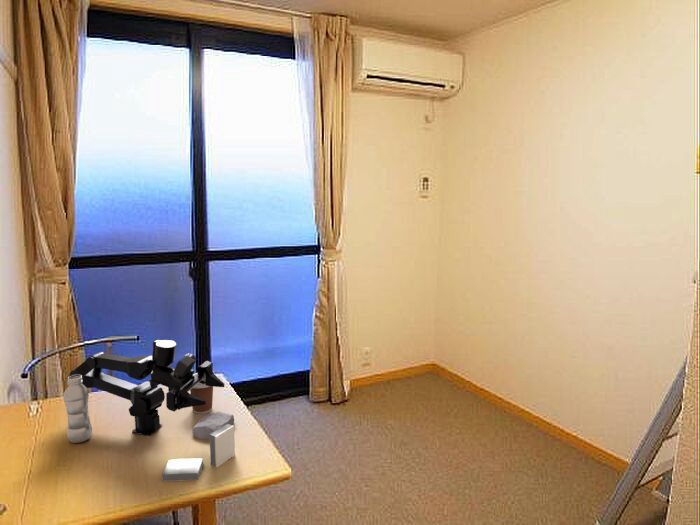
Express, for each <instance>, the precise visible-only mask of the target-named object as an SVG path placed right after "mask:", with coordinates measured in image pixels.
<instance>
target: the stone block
mask: <svg viewBox="0 0 700 525" xmlns="http://www.w3.org/2000/svg"><path fill="white" fill-rule="evenodd" d="M234 422H235V416H234V414H230V413H227V412H223V411H221V412H220V411H216V412H211V413H208V414H207V413H206V415H205V416H203V417H202V418H201V419H200V420H199V421H198V422H197V423H196V424H195V425H194V426H193V427H192V433H193V437H195V438H198V439H208V440H210V434H211V433H213V432H215V431H216V430H218V429H220V428H221V427H223V426H225V425H226V424H230V425H234Z"/></svg>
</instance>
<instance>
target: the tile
mask: <svg viewBox="0 0 700 525" xmlns="http://www.w3.org/2000/svg"><path fill="white" fill-rule="evenodd" d="M209 452H210V453H209V455H210V466H213V467H215V468H218V467H220V466H221V465H222V464H224V463H226V462H227V461H228V459H229V460H230V459H231V457H232V458H233V457H234V455H235V456H236V444H235V426H234V424H232V425H230V424H226V425H225V426H223V427H221V428H220V429H218V430H216V431H215V432H213V433H211V434H210V439H209Z"/></svg>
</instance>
